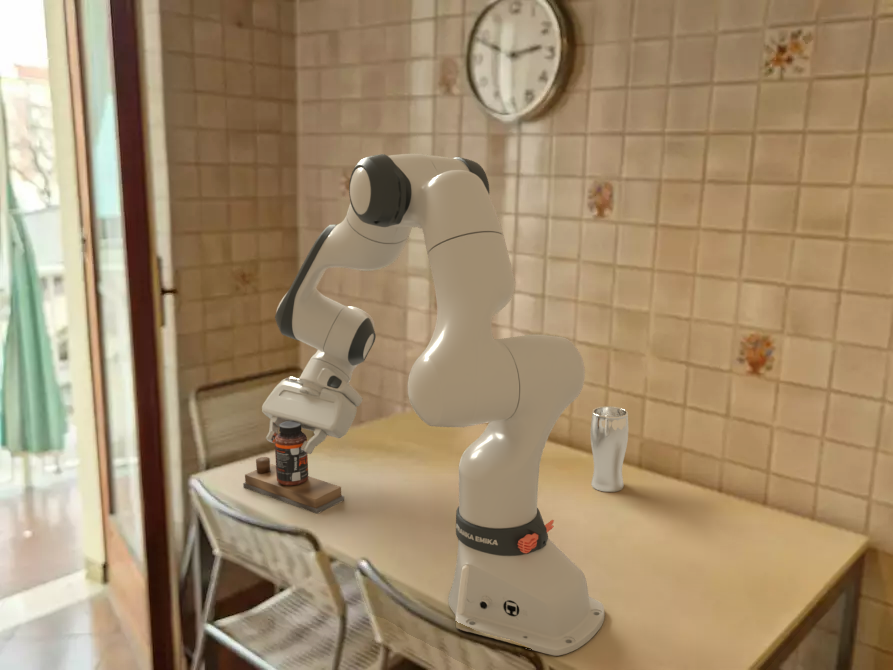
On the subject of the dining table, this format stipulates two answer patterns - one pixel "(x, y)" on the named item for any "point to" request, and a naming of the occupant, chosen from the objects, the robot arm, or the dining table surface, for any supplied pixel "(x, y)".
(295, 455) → the supplement bottle
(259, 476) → the body
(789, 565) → the dining table surface
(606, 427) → the beer glass
